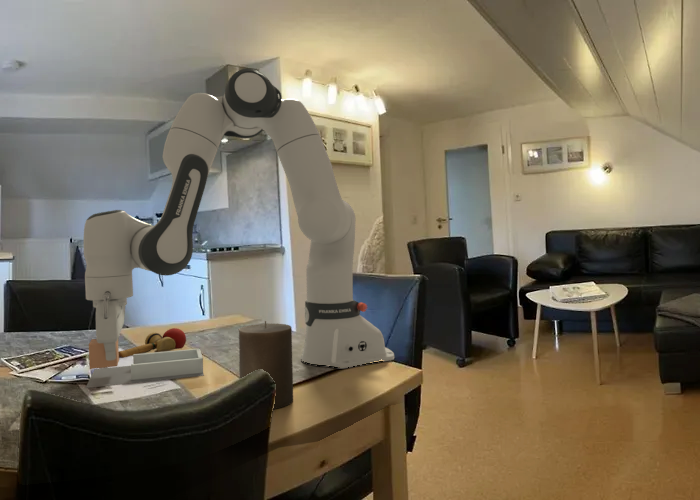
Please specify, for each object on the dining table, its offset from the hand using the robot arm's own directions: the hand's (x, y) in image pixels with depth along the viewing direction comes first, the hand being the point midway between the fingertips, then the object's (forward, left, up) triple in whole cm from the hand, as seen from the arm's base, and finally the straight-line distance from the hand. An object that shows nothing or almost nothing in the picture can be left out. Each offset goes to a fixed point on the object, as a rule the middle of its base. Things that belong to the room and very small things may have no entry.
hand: (112, 355), depth 107 cm
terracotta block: (+2, 0, -2) cm, 2 cm away
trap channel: (-7, 0, -6) cm, 9 cm away
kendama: (-7, -22, -6) cm, 24 cm away
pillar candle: (-28, +23, -6) cm, 36 cm away
